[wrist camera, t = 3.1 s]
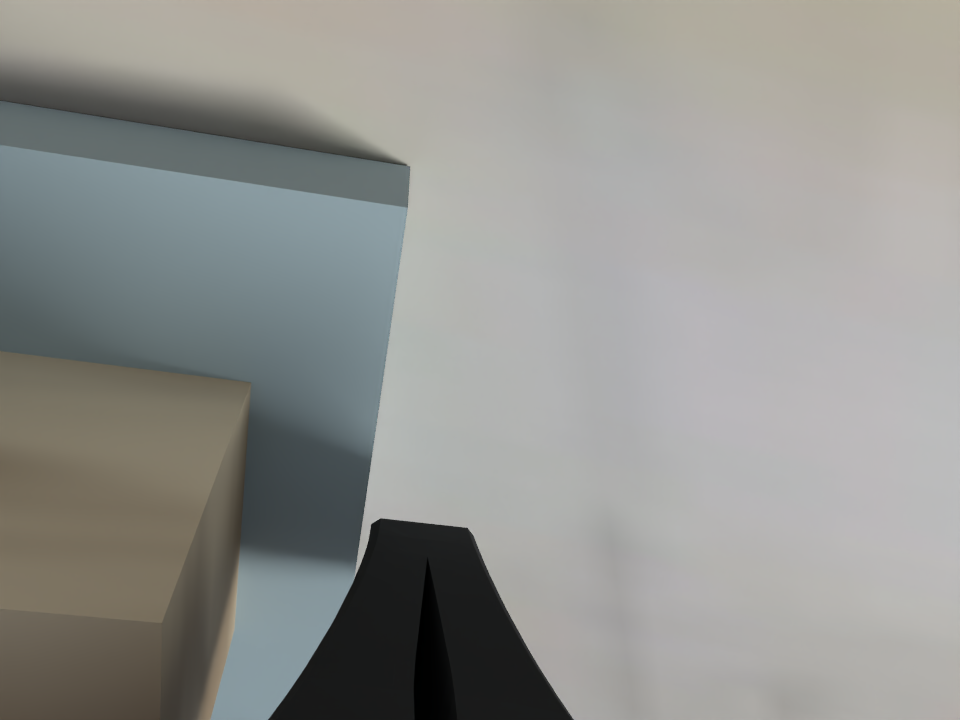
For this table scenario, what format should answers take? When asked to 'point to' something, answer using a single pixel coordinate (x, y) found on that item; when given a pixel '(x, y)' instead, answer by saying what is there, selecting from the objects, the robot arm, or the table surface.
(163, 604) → the block
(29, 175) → the deck
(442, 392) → the table surface
